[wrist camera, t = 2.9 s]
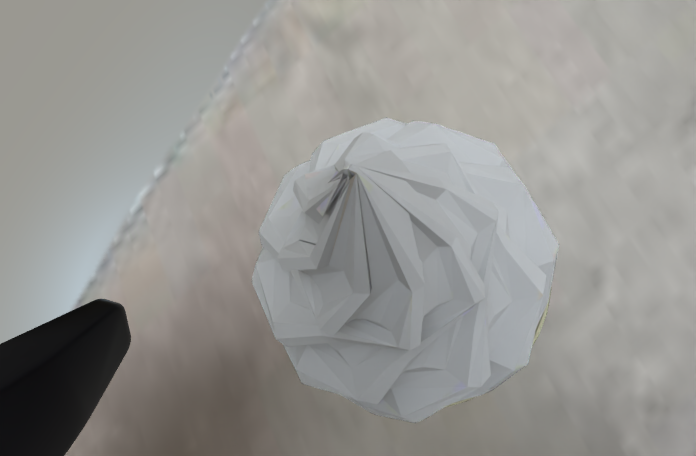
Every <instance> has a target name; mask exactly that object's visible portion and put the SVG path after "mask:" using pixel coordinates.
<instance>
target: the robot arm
mask: <svg viewBox="0 0 696 456" xmlns="http://www.w3.org/2000/svg"><path fill="white" fill-rule="evenodd" d="M130 342H131V334H130V330H129V325H128V321H127V317H126V312H125V309H124V307H123V306H122V305H121V304H119V303H116V302H113V301H110V300H106V299H97V300H94V301H92V302H90V303H88V304H86V305H83V306H81V307H79V308H77V309H75V310H73V311H70V312H68V313H66V314H64V315H62V316H60V317H58V318H56V319H53V320H51V321H49V322H47V323H45V324H42V325H40V326H38V327H36V328H34V329H32V330H30V331H27V332H25V333H23V334H21V335H19V336H17V337H15V338H12V339H10V340H8V341H6V342H4V343H1V344H0V456H64V455H65V454H66V452H67V451H68V450H69V448H70V447H71V445H72V444H73V442H74V441H75V440H76V438H77V437H78V435H79V434H80V432H81V431H82V429H83V428H84V426H85V425H86V423H87V421H88V420H89V418H90V416H91V415H92V413H93V411H94V409H95V408H96V406H97V404H98V402H99V400H100V399H101V397H102V395H103V393H104V392H105V390H106V388H107V386H108V385H109V383H110V381H111V379H112V378H113V376H114V374H115V372H116V370H117V369H118V367H119V365H120V363H121V362H122V360H123V358H124V356H125V355H126V353H127V351H128V349H129V346H130Z"/></svg>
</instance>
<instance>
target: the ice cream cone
mask: <svg viewBox="0 0 696 456" xmlns="http://www.w3.org/2000/svg"><path fill="white" fill-rule="evenodd" d="M259 236H260V240H261V245H262V246H263V248H262V250H261V253H260V255H259V258H258V260H257V262H256V265H255V269H254V274H253V278H252V284H253V286H254V288H255V291H256V293H257V296H258V298H259V300H260V303H261V305H262V308H263V310H264V312H265V315H266V317H267V320H268V322H269V324H270V327H271V329H272V331H273V334H274V336H275V339H276V340H278V341H279V342H281V343H282V344H283V346H284V348H285V350H286V352H287V354H288V356H289V358H290V360H291V362H292V364H293V366H294V368H295V370H296V372H297V374H298V376H299V378H300V381H301V383H302V384H305V385H308V386H312V387H315V388H319V389H322V390H326V391H329V392H333V393H336V394H339V395H342V396H343V397H345V398H347V399H348V400H350V401H352V402H354V403H355V404H357V405H359V406H360V407H362V408H364V409H365V410H367V411H369V412H370V413H372V414H374V415H379V416H384V417H389V418H393V419H398V420H403V421H407V422H412V423H417V422H419V421H422V420H424V419H426V418H428V417H430V416H431V415H433V414H434V413H436V412H437V411H439V410H440V409H442V408H445V407H448V406H452V405H455V404H459V403H462V402H466V401H469V400H471V399H473V398H475V397H477V396H480V395H483V394H485V393H487V392H490V391H492V390H494V389H495V388H496V387H498V386H499V385H500V384H502V383H503V382H504V381H506V380H507V379H509V378H510V377H511V376H513V375H514V374H515V373H517V372H518V371H519V370H521V369H522V368H523V367H525V366H526V365H528V362H529V358H530V353H531V349H532V346H533V344H534V343H535V341H536V339H537V338H538V336H539V333H540V331H541V328H542V326H543V323H544V320H545V318H546V315H547V311H548V306H549V300H550V294H551V285H552V280H553V274H554V269H555V264H556V259H557V253H558V248H559V243H558V241H557V240H556V238H555V236H554V235H553V233H552V231H551V230H550V228H549V226H548V224H547V223H546V221H545V219H544V218H543V216H542V214H541V213H540V211H539V209H538V208H537V206H536V204H535V202H534V201H533V199H532V197H531V196H530V194H529V192H528V191H527V189H526V187H525V186H524V184H523V183H522V182H521V180H520V179H519V178H518V176H517V175H516V173H515V172H514V171H513V169H512V168H511V166H510V165H509V163H508V162H507V160H506V159H505V158H504V156H503V155H502V153H501V152H500V150H499V149H498V147H497V146H496V145H495V144H494V143H491V142H488V141H485V140H482V139H479V138H477V137H474V136H471V135H468V134H465V133H462V132H459V131H456V130H453V129H450V128H447V127H444V126H441V125H438V124H435V123H428V122H420V121H412V122H410V123H409V124H407V123H404V122H400V121H397V120H394V119H390V118H387V117H386V118H384V119H381V120H378V121H376V122H373V123H370V124H367V125H365V126H362V127H359V128H357V129H354V130H351V131H348V132H346V133H343V134H340V135H338V136H335V137H332V138H329V139H327V140H324V141H323V142H322V143H321V144H320V145H319V146H318V147H317V148H316V150H315V151H314V152H313V153H312V157H311V160H309V161H307V162H304V163H302V164H300V165H298V166H297V167H295V168H294V169H292V170H291V171H289V172H288V173H286V174H285V175H284V177H283V180H282V182H281V184H280V186H279V188H278V190H277V193H276V195H275V197H274V199H273V201H272V204H271V206H270V208H269V210H268V212H267V214H266V217H265V219H264V221H263V223H262V225H261V228H260V230H259Z"/></svg>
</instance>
